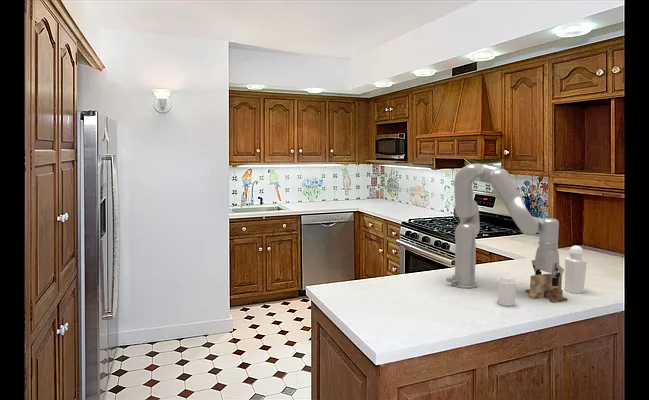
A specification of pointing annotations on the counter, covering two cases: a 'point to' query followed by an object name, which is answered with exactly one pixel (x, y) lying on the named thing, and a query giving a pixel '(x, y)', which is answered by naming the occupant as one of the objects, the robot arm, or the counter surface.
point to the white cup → (506, 291)
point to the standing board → (553, 295)
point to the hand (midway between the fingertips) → (546, 282)
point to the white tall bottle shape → (575, 270)
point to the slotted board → (542, 285)
